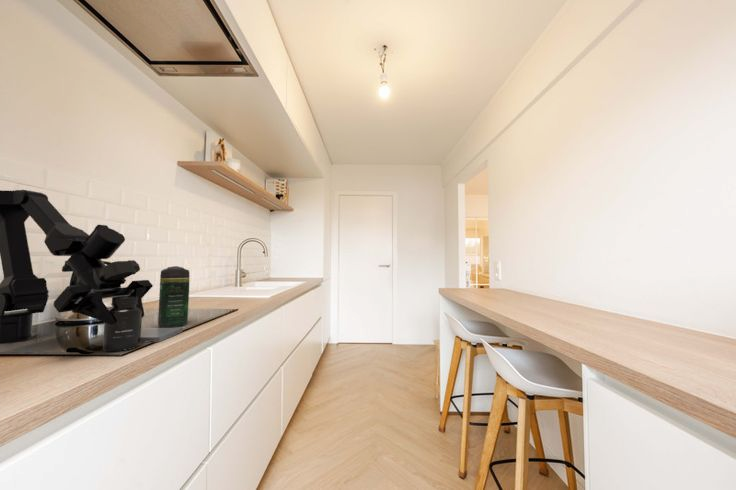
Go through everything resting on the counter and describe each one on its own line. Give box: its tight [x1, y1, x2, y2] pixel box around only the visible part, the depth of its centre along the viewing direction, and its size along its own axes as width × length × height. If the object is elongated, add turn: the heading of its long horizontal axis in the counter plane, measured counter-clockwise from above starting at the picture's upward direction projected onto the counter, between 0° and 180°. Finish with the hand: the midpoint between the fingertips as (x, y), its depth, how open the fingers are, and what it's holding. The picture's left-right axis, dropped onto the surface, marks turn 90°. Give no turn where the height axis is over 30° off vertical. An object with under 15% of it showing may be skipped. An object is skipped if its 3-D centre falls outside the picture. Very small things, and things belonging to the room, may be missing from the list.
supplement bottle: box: [102, 296, 143, 352], centre depth 69 cm, size 7×7×12 cm
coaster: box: [140, 327, 184, 343], centre depth 78 cm, size 10×10×1 cm
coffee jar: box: [157, 265, 190, 328], centre depth 93 cm, size 10×8×19 cm
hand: (128, 319), depth 69 cm, fingers closed on supplement bottle, 7 cm apart
